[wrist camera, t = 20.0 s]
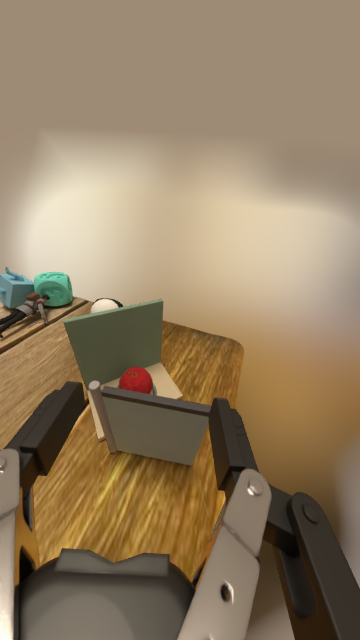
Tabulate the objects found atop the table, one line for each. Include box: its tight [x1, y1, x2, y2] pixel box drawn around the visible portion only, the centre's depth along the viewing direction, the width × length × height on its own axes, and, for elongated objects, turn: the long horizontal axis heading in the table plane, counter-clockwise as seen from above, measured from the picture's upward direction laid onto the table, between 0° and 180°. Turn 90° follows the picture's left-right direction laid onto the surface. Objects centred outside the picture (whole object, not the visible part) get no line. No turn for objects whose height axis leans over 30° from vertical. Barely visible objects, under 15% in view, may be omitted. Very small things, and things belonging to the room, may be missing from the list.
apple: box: [116, 367, 158, 396], centre depth 31 cm, size 8×8×6 cm
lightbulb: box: [91, 299, 119, 314], centre depth 43 cm, size 6×6×11 cm
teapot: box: [0, 267, 35, 308], centre depth 51 cm, size 12×6×8 cm
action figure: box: [0, 293, 50, 338], centre depth 47 cm, size 9×7×15 cm
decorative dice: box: [34, 272, 73, 306], centre depth 55 cm, size 8×8×8 cm
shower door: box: [101, 386, 211, 466], centre depth 22 cm, size 11×1×15 cm, turn 82°
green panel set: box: [63, 299, 183, 453], centre depth 29 cm, size 15×12×16 cm
